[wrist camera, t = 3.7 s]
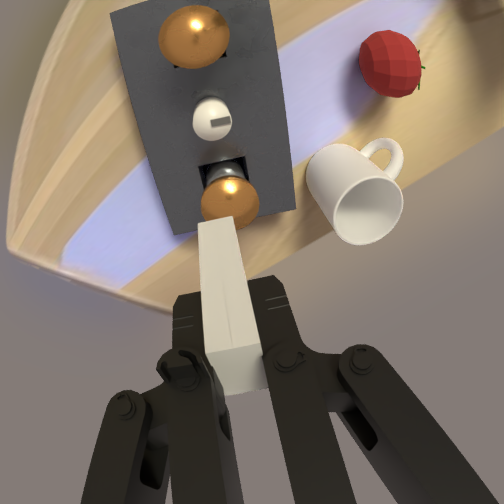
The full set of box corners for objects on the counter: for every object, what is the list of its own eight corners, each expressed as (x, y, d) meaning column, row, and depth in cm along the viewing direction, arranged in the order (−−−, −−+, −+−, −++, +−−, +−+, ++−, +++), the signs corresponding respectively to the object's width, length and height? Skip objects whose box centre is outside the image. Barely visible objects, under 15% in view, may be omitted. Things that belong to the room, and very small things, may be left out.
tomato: (378, 75, 23) (448, 79, 22) (357, 15, 23) (423, 20, 22) (362, 109, 31) (422, 108, 30) (348, 54, 31) (404, 55, 30)
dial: (190, 101, 26) (188, 109, 23) (224, 93, 26) (228, 101, 23) (197, 132, 28) (197, 145, 25) (230, 124, 28) (235, 137, 25)
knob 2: (195, 158, 32) (194, 187, 26) (244, 148, 32) (254, 174, 26) (206, 200, 35) (208, 236, 29) (252, 190, 35) (263, 224, 29)
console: (122, 17, 23) (109, 13, 19) (256, -12, 23) (264, -21, 20) (176, 212, 39) (174, 235, 35) (285, 189, 39) (296, 209, 35)
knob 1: (163, 21, 22) (152, 15, 17) (218, 9, 22) (223, -1, 17) (174, 69, 25) (166, 76, 20) (228, 57, 26) (235, 61, 20)
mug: (354, 107, 33) (400, 132, 25) (392, 148, 37) (437, 183, 29) (290, 177, 38) (316, 221, 30) (333, 210, 42) (364, 257, 34)
